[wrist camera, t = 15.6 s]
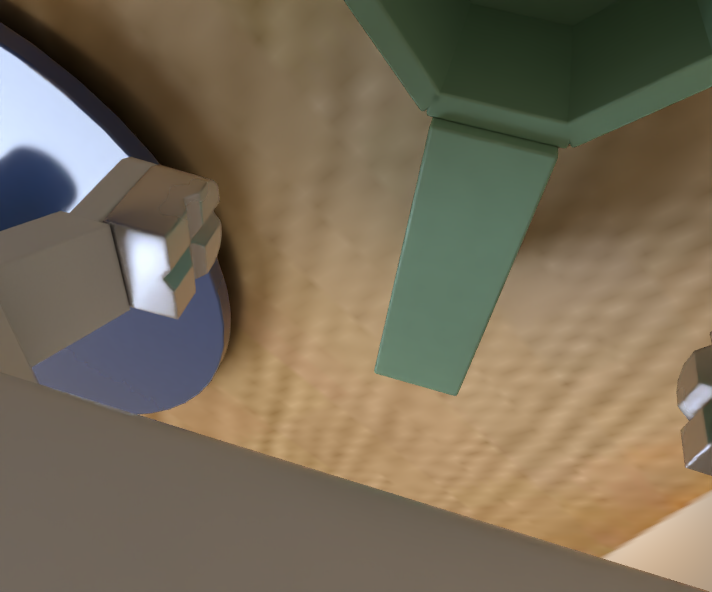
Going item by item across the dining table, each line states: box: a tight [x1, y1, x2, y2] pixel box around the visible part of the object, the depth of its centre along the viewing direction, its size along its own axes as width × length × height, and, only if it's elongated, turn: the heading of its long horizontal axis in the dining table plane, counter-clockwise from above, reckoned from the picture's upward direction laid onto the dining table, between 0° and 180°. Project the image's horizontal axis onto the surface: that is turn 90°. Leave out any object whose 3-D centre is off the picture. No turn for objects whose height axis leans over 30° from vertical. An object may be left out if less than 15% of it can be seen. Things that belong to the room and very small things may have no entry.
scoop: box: [344, 0, 712, 396], centre depth 10 cm, size 11×5×4 cm, turn 174°
